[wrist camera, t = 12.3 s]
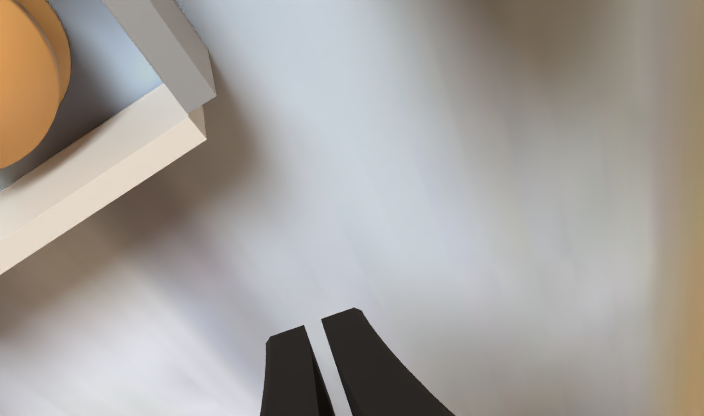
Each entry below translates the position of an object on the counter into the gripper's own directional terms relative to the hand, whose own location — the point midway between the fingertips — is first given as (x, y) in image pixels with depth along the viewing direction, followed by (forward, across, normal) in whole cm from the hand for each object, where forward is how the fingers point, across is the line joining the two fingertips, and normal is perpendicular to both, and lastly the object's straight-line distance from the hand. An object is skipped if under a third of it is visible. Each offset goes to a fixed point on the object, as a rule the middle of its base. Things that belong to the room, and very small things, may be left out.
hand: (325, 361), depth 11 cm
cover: (+10, +6, -1) cm, 12 cm away
